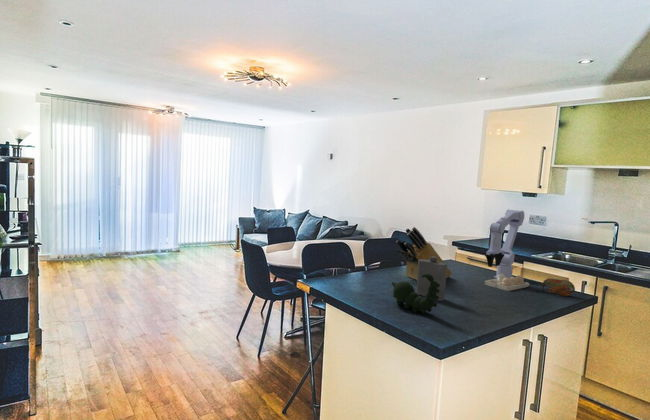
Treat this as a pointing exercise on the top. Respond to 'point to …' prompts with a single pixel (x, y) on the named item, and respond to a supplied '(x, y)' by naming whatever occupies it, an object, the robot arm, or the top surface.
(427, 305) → the toy figurine
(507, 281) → the brown egg
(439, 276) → the flask
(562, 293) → the tin
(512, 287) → the egg carton
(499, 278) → the cream egg
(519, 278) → the brown egg
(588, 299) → the top surface
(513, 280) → the brown egg middle
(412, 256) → the knife block
